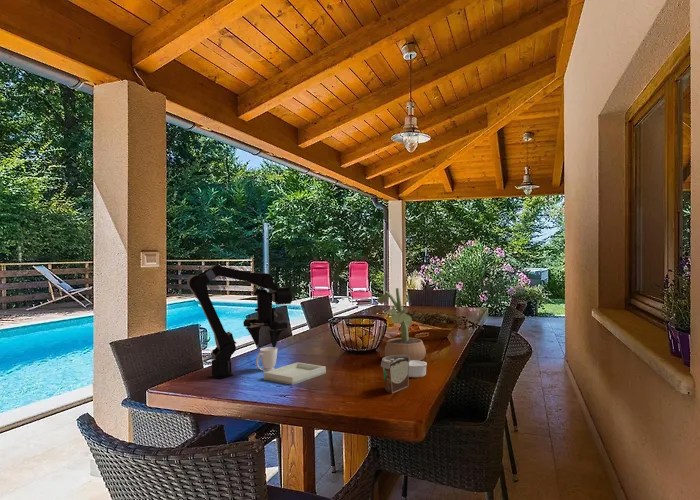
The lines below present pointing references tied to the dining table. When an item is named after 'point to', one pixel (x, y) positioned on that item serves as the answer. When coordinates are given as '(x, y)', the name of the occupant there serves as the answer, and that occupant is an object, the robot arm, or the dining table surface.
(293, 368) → the tray
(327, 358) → the dining table surface
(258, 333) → the robot arm
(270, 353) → the cup
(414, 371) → the ramekin
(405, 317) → the potted plant
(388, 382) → the food container
